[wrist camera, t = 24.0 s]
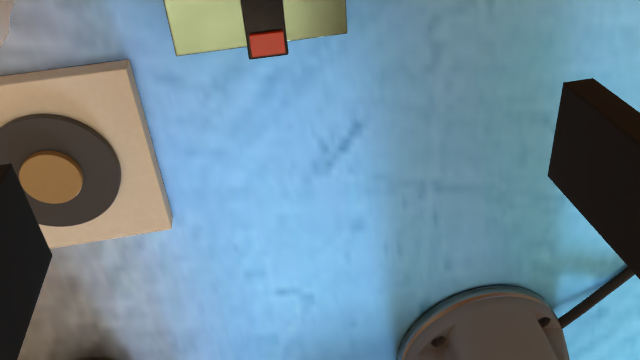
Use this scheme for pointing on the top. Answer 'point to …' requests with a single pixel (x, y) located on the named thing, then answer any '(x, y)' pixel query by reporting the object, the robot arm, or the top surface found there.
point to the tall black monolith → (264, 28)
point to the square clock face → (228, 28)
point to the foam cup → (5, 18)
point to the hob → (83, 153)
